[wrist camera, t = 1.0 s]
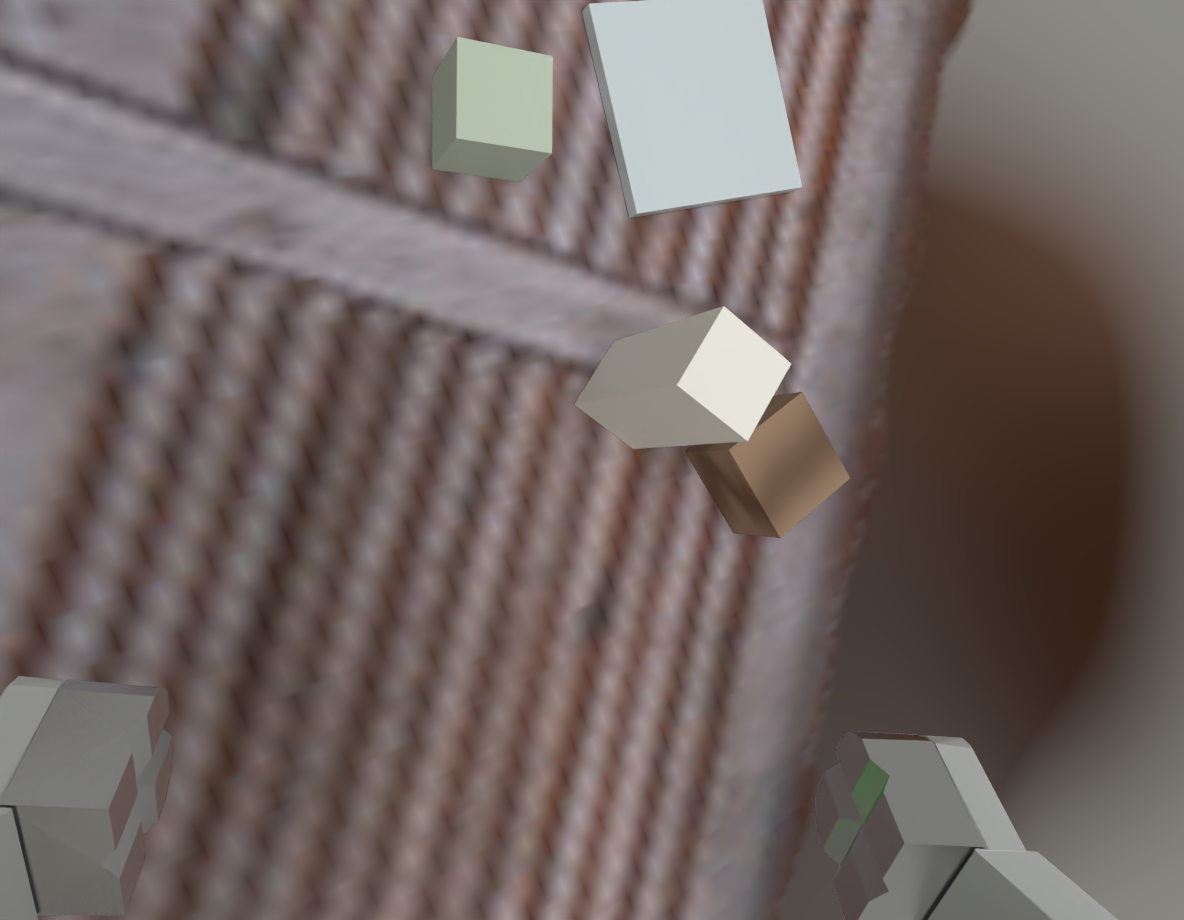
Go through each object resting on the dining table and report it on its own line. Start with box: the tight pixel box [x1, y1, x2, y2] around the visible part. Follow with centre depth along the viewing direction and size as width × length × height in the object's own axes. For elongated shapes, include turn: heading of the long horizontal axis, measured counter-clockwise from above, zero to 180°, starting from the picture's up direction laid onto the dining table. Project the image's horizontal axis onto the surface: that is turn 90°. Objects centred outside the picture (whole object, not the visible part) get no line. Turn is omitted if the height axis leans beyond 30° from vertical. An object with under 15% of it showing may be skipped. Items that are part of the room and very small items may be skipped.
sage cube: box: [432, 37, 553, 182], centre depth 48 cm, size 5×5×5 cm
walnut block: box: [685, 392, 850, 538], centre depth 55 cm, size 6×6×5 cm
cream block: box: [574, 306, 791, 449], centre depth 48 cm, size 4×4×12 cm
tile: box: [582, 0, 802, 218], centre depth 56 cm, size 12×12×1 cm
